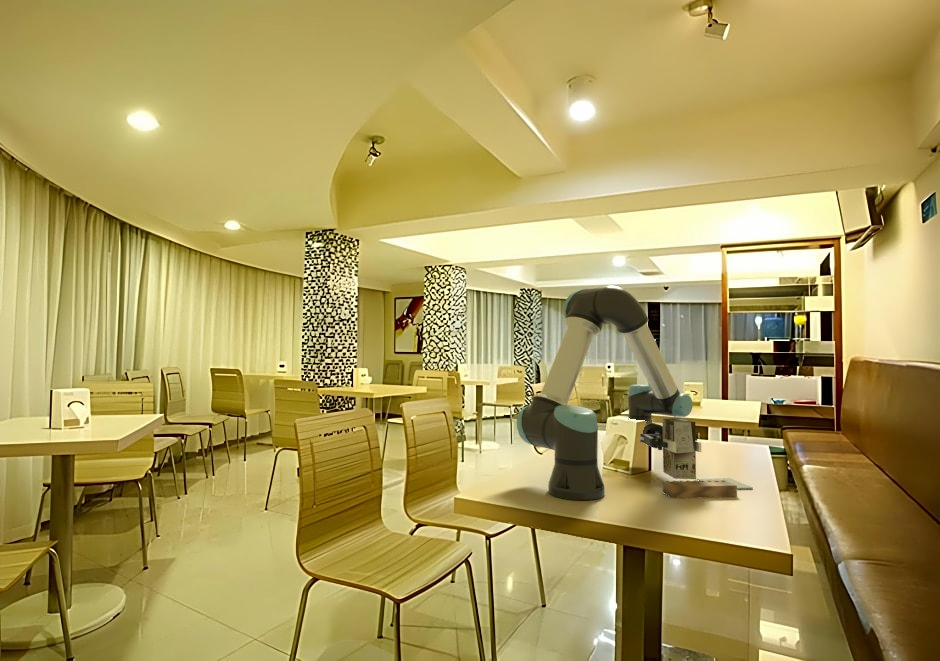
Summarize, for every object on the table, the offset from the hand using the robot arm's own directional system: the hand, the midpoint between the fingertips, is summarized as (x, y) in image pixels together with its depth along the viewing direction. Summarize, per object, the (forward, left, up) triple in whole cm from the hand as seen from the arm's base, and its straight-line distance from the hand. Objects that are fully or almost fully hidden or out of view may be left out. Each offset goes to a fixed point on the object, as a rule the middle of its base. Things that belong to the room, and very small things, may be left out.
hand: (687, 447), depth 146 cm
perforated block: (+1, -4, -12) cm, 13 cm away
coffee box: (0, +5, -9) cm, 10 cm away
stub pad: (+14, +5, -12) cm, 19 cm away
